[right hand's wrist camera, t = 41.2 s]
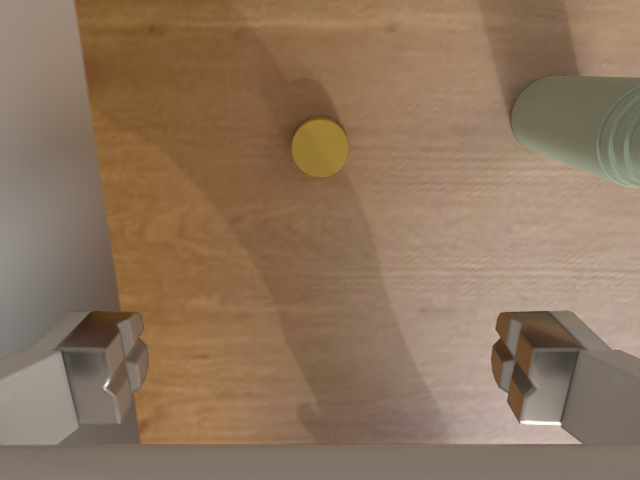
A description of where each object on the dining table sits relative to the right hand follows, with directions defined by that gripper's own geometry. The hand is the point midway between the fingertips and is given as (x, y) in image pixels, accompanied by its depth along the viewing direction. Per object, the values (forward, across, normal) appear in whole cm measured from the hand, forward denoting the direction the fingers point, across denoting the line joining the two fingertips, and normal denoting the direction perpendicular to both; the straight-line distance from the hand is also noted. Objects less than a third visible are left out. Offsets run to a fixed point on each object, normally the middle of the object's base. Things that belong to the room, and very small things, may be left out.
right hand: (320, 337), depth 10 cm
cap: (+27, 0, 0) cm, 27 cm away
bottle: (+29, +19, +2) cm, 35 cm away
